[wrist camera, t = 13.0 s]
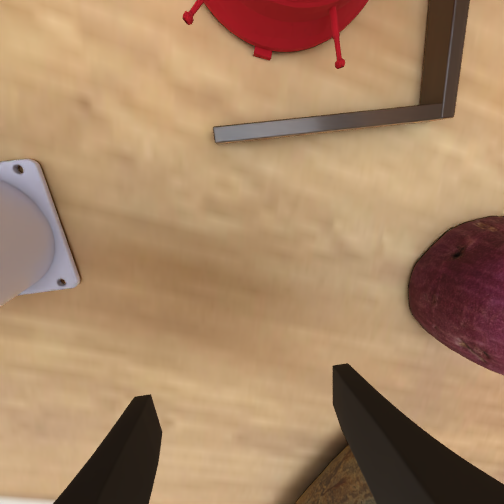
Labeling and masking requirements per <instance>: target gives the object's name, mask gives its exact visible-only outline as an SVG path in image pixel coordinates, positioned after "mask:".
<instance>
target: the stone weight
mask: <svg viewBox="0 0 504 504" xmlns="http://www.w3.org/2000/svg"><path fill="white" fill-rule="evenodd" d="M295 504H376V502H375V499H374V497H373V495H372V493H371V491H370V489H369V487H368V484H367V482H366V480H365V478H364V476H363V474H362V472H361V470H360V468H359V466H358V463H357V461H356V459H355V457H354V455H353V453H352V451H351V449H350V446H349V445H348V446H347V447H346V448H345V449H344V450H343V451H342V452H341V453H340V454H339V455H338V456H337V457H336V458H335V459H333V461H332V462H331V463H330V464H329V465H328V466H327V467H326V468H325V470H324V471H323V472H322V473H321V474H320V475H319V476H318V477H317V479H316V480H315V481H314V482H313V483H312V484H311V485H310V486H309V487H308V488H307V490H306V491H305V492H304V493H303V494H302V495H301V497H300V498H299V499H298V501H297V502H296V503H295Z"/></svg>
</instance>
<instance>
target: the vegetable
mask: <svg viewBox="0 0 504 504" xmlns="http://www.w3.org/2000/svg"><path fill="white" fill-rule="evenodd" d="M408 286H409V306H410V310H411V312H412V315H413V316H414V317H415V319H416V320H417V321H418V322H419V323H420V325H421V326H422V327H423V328H424V329H425V330H426V331H427V332H428V333H429V334H431V335H432V336H433V337H435V338H436V339H437V340H438V341H440V342H441V343H442V344H444V345H445V346H447V347H448V348H450V349H451V350H453V351H455V352H457V353H459V354H460V355H462V356H463V357H465V358H467V359H469V360H471V361H473V362H474V363H476V364H478V365H481V366H483V367H485V368H487V369H489V370H491V371H494V372H496V373H499V374H502V375H504V216H502V217H498V216H491V217H485V218H481V219H478V220H474V221H470V222H466V223H463V224H461V225H459V226H457V227H455V228H452V229H450V231H447V232H446V233H445V234H444V235H443V236H442V237H441V238H440V239H439V240H438V241H437V242H436V243H435V244H433V245H432V246H431V248H430V249H429V250H428V251H427V252H426V253H425V254H424V255H423V256H422V257H421V258H420V260H419V261H418V262H417V263H416V265H415V267H414V269H413V270H412V275H411V279H410V283H409V285H408Z"/></svg>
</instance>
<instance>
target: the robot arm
mask: <svg viewBox="0 0 504 504" xmlns="http://www.w3.org/2000/svg"><path fill="white" fill-rule="evenodd" d="M19 165H20V166H22V168H23V171H24V172H23V173H21V172H19V170H18V166H19ZM60 279H63V280H65V282H66V284H65V283H62V282H61V280H60ZM79 283H80V277H79V274H78V271H77V268H76V265H75V263H74V260H73V257H72V254H71V251H70V248H69V246H68V243H67V240H66V237H65V234H64V231H63V229H62V226H61V223H60V220H59V217H58V214H57V212H56V209H55V206H54V203H53V200H52V197H51V195H50V192H49V189H48V186H47V183H46V180H45V178H44V175H43V172H42V169H41V167H40V165H39V163H38V162H36V161H35V160H33V159H20V160H11V161H2V162H0V307H1V306H2V305H4V304H5V303H7V302H8V301H10V300H11V299H13V298H14V297H16V296H17V295H25V294H32V293H40V292H47V291H55V290H62V289H70V288H74V287H76V286H77V285H78V284H79ZM333 406H334V409H335V412H336V415H337V418H338V420H339V423H340V426H341V429H342V431H343V434H344V436H345V438H346V440H347V442H348V444H349V446H350V449H351V451H352V453H353V455H354V457H355V459H356V461H357V463H358V466H359V468H360V470H361V472H362V474H363V476H364V478H365V480H366V482H367V484H368V487H369V489H370V491H371V493H372V495H373V497H374V499H375V502H376V504H504V484H502V483H501V482H499V481H497V480H496V479H494V478H493V477H491V476H489V475H488V474H486V473H485V472H483V471H481V470H480V469H478V468H477V467H475V466H473V465H472V464H470V463H469V462H467V461H466V460H464V459H463V458H461V457H460V456H458V455H457V454H455V453H454V452H453V451H451V450H450V449H448V448H447V447H446V446H444V445H443V444H441V443H440V442H439V441H437V440H436V439H435V438H433V437H432V436H431V435H429V434H428V433H427V432H425V431H424V430H423V429H421V428H420V427H419V426H418V425H416V424H415V423H414V422H413V421H411V420H410V419H409V418H408V417H406V416H405V415H404V414H403V413H402V412H401V411H399V410H398V409H397V408H396V407H395V406H394V405H392V404H391V403H390V402H389V401H388V400H387V399H386V398H384V397H383V396H382V395H381V394H380V393H379V392H378V391H377V390H375V389H374V388H373V387H372V386H371V385H370V384H369V383H368V382H367V381H366V380H365V379H364V378H363V377H362V376H361V375H360V374H358V373H357V372H356V371H355V370H354V369H353V368H352V367H351V366H350V365H349V364H348V363H347V364H341V365H334V366H333ZM161 438H162V430H161V426H160V423H159V420H158V417H157V413H156V410H155V407H154V403H153V400H152V397H151V394H150V395H144V396H137V397H134V399H133V400H132V401H131V403H130V404H129V405H128V407H127V408H126V410H125V411H124V412H123V414H122V415H121V417H120V418H119V419H118V421H117V422H116V424H115V425H114V426H113V428H112V429H111V431H110V432H109V433H108V435H107V436H106V437H105V439H104V440H103V442H102V443H101V444H100V446H99V447H98V448H97V450H96V451H95V452H94V454H93V455H92V456H91V458H90V459H89V460H88V461H87V463H86V464H85V465H84V467H83V468H82V469H81V470H80V472H79V473H78V474H77V475H76V477H75V478H74V479H73V480H72V482H71V483H70V484H69V485H68V487H67V488H66V489H65V490H64V491H63V493H62V494H61V495H60V496H59V497H58V499H57V500H56V501H55V502H54V503H53V504H149V500H150V496H151V492H152V488H153V483H154V479H155V475H156V471H157V466H158V461H159V454H160V447H161Z"/></svg>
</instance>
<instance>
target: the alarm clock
mask: <svg viewBox="0 0 504 504" xmlns="http://www.w3.org/2000/svg"><path fill="white" fill-rule="evenodd" d="M203 2H204V3H205V5H206V6H207V7H208V9H209V10H210V11H211V13H212V14H213V15H214V16H215V17H216V18H217V19H218V21H219V22H220V23H221V24H222V25H224V26H225V27H226V28H227V29H228V30H229V31H230V32H232V33H233V34H235V35H236V36H237V37H239V38H240V39H242V40H244V41H245V42H247V43H250V44H252V45H254V46H255V50H254V55H253V56H256V57H259V58H263V59H267V60H270V59H271V55H272V51H278V52H293V51H300V50H305V49H308V48H312V47H315V46H317V45H319V44H321V43H323V42H325V41H328V40H329V39H331V38H332V37H333V39H334V42H335V49H336V56H337V61H336V62H335V67H336V68H337V69H339V68H342V67H344V65H345V60H344V59H342V58H341V49H340V41H339V36H340V34H339V32H340V31H342V30H343V29H344V28H345V27H346V26H347V25H348V24H349V23H350V22H351V21H352V20H353V19H354V18H355V17H356V16H357V15H358V14H359V12H360V11H361V10H362V9H363V7H364V6H365V5H366V3H367V2H368V0H197V1H196V2H195V4H194V5H193V7H192V8H191V10H190V11H189V12H187V11H185V13H184V14H183V20H184V21H185V22H186V23H187V24H188V25H190V24H192V23H193V16H194V14H195V13H196V12H197V10H198V9H199V8H200V6H201V5H202V4H203Z"/></svg>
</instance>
